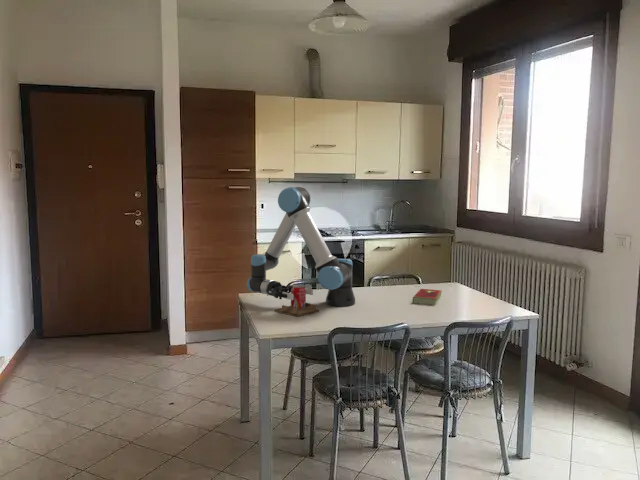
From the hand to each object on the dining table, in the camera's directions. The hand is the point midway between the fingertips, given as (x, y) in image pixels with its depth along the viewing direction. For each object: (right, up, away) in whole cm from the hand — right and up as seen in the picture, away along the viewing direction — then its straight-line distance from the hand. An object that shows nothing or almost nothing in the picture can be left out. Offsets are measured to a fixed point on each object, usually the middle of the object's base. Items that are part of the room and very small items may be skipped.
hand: (302, 294), depth 249 cm
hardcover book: (+65, -7, +30) cm, 72 cm away
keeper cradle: (-2, -9, +3) cm, 9 cm away
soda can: (-2, -8, +3) cm, 9 cm away
